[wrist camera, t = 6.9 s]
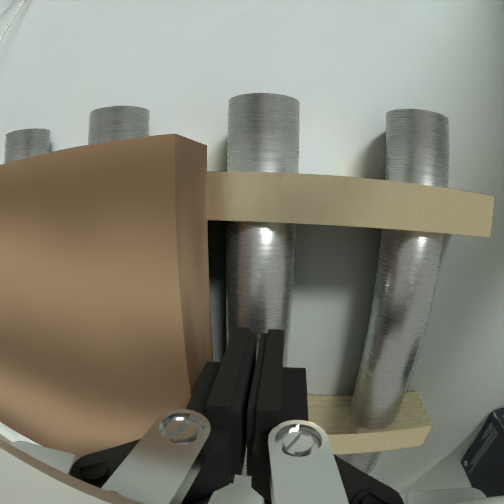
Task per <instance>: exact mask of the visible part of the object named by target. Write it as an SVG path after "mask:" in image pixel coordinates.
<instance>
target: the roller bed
mask: <svg viewBox="0 0 504 504" xmlns="http://www.w3.org/2000/svg"><path fill="white" fill-rule="evenodd" d="M299 106H300V103H299V101H298V100H296V99H295V98H292V97H289V96H285V95H279V94H270V93H252V94H243V95H238V96H235V97H233V98H231V99H230V100H229V111H228V147H227V172H207V220H224V221H226V324H227V345H228V343H229V340H230V337H231V334H232V332H233V329H234V327H245V328H251V332H257V350H256V360H257V354H258V349H259V343H260V337H261V333H268V329H279V330H284V348H283V367H286V364H287V353H288V342H289V330H290V318H291V304H292V291H293V276H294V259H295V241H296V223H300V224H319V225H337V226H354V227H369V228H382V233H381V243H380V252H379V261H378V269H377V276H376V283H375V290H374V296H373V302H372V308H371V314H370V320H369V325H368V330H367V335H366V340H365V345H364V350H363V355H362V359H361V363H360V368H359V372H358V376H357V380H356V384H355V388H354V392H353V395H307V401H308V421H309V422H312V423H314V424H316V425H318V426H320V427H321V428H322V429H323V430H324V431H325V433H326V434H327V436H328V439H329V442H330V445H331V448H332V451H333V454H335V455H336V456H338V457H339V458H341V459H343V460H344V461H346V462H347V463H349V464H351V465H352V466H354V467H356V468H357V469H359V470H361V471H362V472H364V473H366V474H368V473H370V472H371V471H372V470H373V468H374V466H375V464H376V462H377V460H378V458H379V456H380V454H381V452H382V451H387V450H395V449H403V448H410V447H416V446H422V444H423V442H424V441H425V439H426V437H427V435H428V433H429V431H430V429H431V427H432V423H431V421H430V419H429V417H428V415H427V413H426V411H425V409H424V407H423V405H422V403H421V401H420V399H419V397H418V395H417V393H416V391H412V392H407V389H408V386H409V383H410V380H411V377H412V374H413V371H414V368H415V365H416V362H417V359H418V355H419V352H420V348H421V345H422V341H423V338H424V334H425V330H426V326H427V322H428V318H429V314H430V310H431V306H432V301H433V296H434V292H435V287H436V281H437V276H438V270H439V264H440V258H441V251H442V244H443V237H444V233H447V234H458V235H469V236H479V237H489V238H490V237H491V229H492V220H493V210H494V198H495V196H490V195H485V194H479V193H474V192H468V191H462V190H456V189H449V188H448V175H449V125H448V118H447V117H445V116H443V115H441V114H438V113H435V112H431V111H426V110H418V109H398V110H392V111H389V112H387V113H386V174H385V180H379V179H368V178H357V177H345V176H332V175H316V174H298V167H299ZM148 132H149V110H147V109H145V108H141V107H134V106H113V107H105V108H100V109H97V110H94V111H92V112H91V113H90V120H89V137H88V145H90V144H96V143H103V142H109V141H116V140H123V139H131V138H139V137H147V136H148ZM49 142H50V131H49V130H47V129H24V130H18V131H13V132H10V133H8V134H6V141H5V163H9V162H13V161H16V160H20V159H24V158H28V157H32V156H36V155H41V154H45V153H49ZM242 475H245V476H247V448H246V454H245V459H244V465H243V470H242Z"/></svg>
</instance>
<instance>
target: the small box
mask: <svg viewBox="0 0 504 504" xmlns="http://www.w3.org/2000/svg"><path fill="white" fill-rule="evenodd" d="M461 464H462V466H463V468H464V470H465V472H466V474H467V476H468V479H469V481H470V483H471V486H472V488H476V489H478V490H480V491H482V492H483V493H484V494H485V495H486V498H487V497H495V496H504V408H501V409H498V410H495V411H493V412H492V414H491V416H490V417H489V419H488V421H487V423H486V424H485V426H484V428H483V429H482V431H481V433H480V434H479V436H478V437H477V439H476V440H475V442H474V443H473V445H472V446H471V448H470V449H469V450H468V452H467V453H466V455H465V456H464V458H463V459H462V461H461Z"/></svg>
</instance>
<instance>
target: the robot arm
mask: <svg viewBox="0 0 504 504" xmlns="http://www.w3.org/2000/svg"><path fill="white" fill-rule="evenodd" d="M283 348H284V330H279V329H268V333H261V337H260V343H259V349H258V354H257V360H256V350H257V332H251V328H245V327H234V329H233V332H232V334H231V337H230V340H229V343H228V345H227V348H226V351H225V354H224V357H223V359H222V362H221V363H220V362H210V361H208V362H206V364H205V366H204V369H203V371H202V373H201V375H200V378H199V380H198V382H197V385H196V387H195V389H194V391H193V394H192V396H191V398H190V401H189V403H188V405H187V407H186V409H176V410H172V411H168V412H166V413H164V414H162V415H161V416H160V417H159V418H158V419H156V421H155V422H154V423H153V425H152V426H151V427H150V428H149V430H148V431H147V432H146V433H145V435H144V436H143V437H142V438H141V439H138V440H135V441H132V442H129V443H126V444H122V445H119V446H116V447H112V448H109V449H105V450H102V451H98V452H95V453H91V454H87V455H85V456H82V457H80V458H77V457H76V455H75V454H73V453H68V452H64V451H59V450H55V449H51V448H47V447H43V446H39V445H36V444H32V443H29V442H25V441H16V442H13V443H11V444H8V443H6V442H3V441H1V440H0V504H214V501H215V499H216V497H217V494H218V490H219V489H221V488H223V487H225V486H227V485H229V483H233V481H234V476H235V474H236V475H241V474H242V470H243V465H244V459H245V454H246V448H247V476H252V485H251V487H252V488H253V489H254V490H255V491H257V492H258V493H259V494H260V495H261V496H262V497H263V504H504V496H495V497H487V498H486V495H485V494H484V493H483V492H482V491H480V490H478V489H476V488H459V489H446V490H421V491H408V492H407V494H399V493H398V492H396V491H395V490H394V489H392V488H391V487H389V486H387V485H385V484H383V483H382V482H380V481H378V480H376V479H374V478H373V477H371V476H369V475H367V474H366V473H364V472H362V471H361V470H359V469H357V468H356V467H354V466H352V465H351V464H349V463H347V462H346V461H344V460H343V459H341V458H339V457H338V456H336V455H335V454H333V451H332V448H331V445H330V442H329V439H328V436H327V434H326V433H325V431H324V430H323V429H322V428H321V427H320V426H318V425H316V424H314V423H312V422H309V421H308V401H307V383H306V369H305V368H288V367H283Z"/></svg>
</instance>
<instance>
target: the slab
mask: <svg viewBox="0 0 504 504" xmlns="http://www.w3.org/2000/svg"><path fill="white" fill-rule="evenodd" d="M208 361H210V362H213V347H212V330H211V312H210V290H209V264H208V227H207V145H204V144H201V143H199V142H196V141H193V140H191V139H188V138H185V137H183V136H180V135H177V134H167V135H157V136H147V137H139V138H131V139H123V140H116V141H109V142H103V143H96V144H90V145H85V146H79V147H74V148H69V149H64V150H59V151H54V152H49V153H45V154H41V155H36V156H32V157H28V158H24V159H20V160H16V161H13V162H9V163H5V164H2V165H0V422H2V423H3V424H5V425H6V426H8V427H10V428H11V429H13V430H15V431H16V432H18V433H20V434H22V435H23V436H25V437H27V438H29V439H30V440H32V441H34V442H36V443H38V444H40V445H42V446H44V447H47V448H51V449H55V450H59V451H64V452H68V453H73V454H75V455H76V457H77V458H80V457H82V456H85V455H87V454H91V453H95V452H98V451H102V450H105V449H109V448H112V447H116V446H119V445H122V444H126V443H129V442H132V441H135V440H138V439H141V438H142V437H143V436H144V435H145V433H146V432H147V431H148V430H149V428H150V427H151V426H152V425H153V423H154V422H155V421H156V419H158V418H159V417H160V416H161V415H162V414H164V413H166V412H168V411H172V410H176V409H186V407H187V405H188V403H189V401H190V398H191V396H192V394H193V391H194V389H195V387H196V385H197V382H198V380H199V378H200V375H201V373H202V371H203V369H204V366H205V364H206V362H208Z"/></svg>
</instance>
